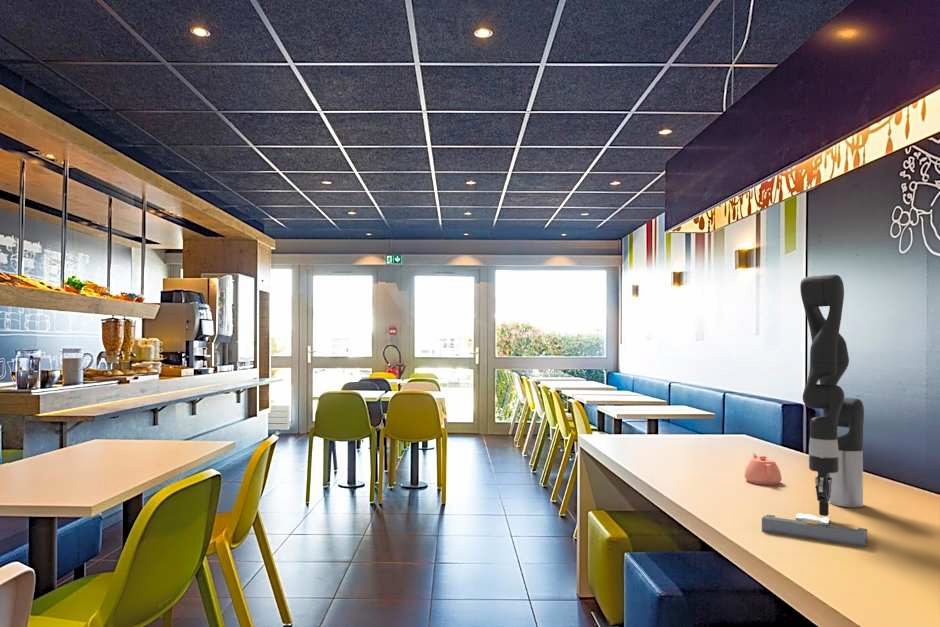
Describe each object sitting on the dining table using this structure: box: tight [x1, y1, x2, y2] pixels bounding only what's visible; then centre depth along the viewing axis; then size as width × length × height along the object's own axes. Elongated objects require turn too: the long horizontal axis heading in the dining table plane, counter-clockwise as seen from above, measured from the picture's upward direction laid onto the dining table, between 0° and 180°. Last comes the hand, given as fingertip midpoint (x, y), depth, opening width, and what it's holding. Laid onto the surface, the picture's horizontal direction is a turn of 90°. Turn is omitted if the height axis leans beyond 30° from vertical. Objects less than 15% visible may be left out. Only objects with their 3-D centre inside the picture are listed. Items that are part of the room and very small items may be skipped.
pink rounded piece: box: [744, 452, 782, 486], centre depth 249 cm, size 12×18×10 cm
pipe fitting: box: [795, 512, 832, 526], centre depth 188 cm, size 8×4×7 cm
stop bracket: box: [761, 514, 868, 548], centre depth 180 cm, size 7×24×4 cm, turn 56°
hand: (823, 515), depth 196 cm, fingers closed
